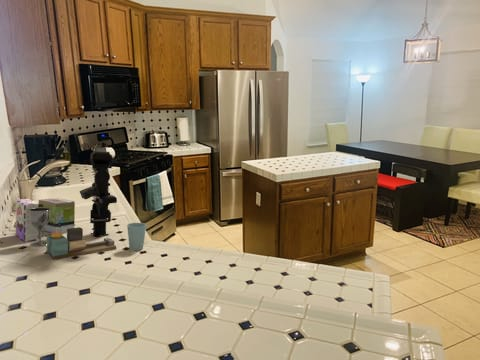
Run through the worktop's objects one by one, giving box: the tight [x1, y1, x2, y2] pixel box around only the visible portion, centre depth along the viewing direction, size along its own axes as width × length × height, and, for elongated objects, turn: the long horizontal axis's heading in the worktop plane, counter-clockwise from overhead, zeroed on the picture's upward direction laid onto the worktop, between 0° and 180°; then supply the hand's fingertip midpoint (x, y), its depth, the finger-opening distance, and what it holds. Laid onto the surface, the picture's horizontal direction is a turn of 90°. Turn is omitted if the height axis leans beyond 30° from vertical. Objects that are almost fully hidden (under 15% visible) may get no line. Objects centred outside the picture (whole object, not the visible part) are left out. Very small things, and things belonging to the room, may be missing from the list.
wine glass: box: [29, 207, 51, 248], centre depth 150 cm, size 8×8×15 cm
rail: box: [45, 234, 117, 260], centre depth 145 cm, size 10×24×7 cm, turn 133°
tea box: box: [37, 197, 76, 234], centre depth 173 cm, size 15×10×15 cm, turn 58°
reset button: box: [51, 232, 63, 238], centre depth 138 cm, size 4×4×1 cm
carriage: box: [66, 226, 87, 251], centre depth 142 cm, size 7×6×8 cm
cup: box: [126, 222, 147, 251], centre depth 151 cm, size 8×8×10 cm
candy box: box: [14, 198, 39, 243], centre depth 158 cm, size 14×6×16 cm, turn 45°
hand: (101, 216), depth 155 cm, fingers closed
